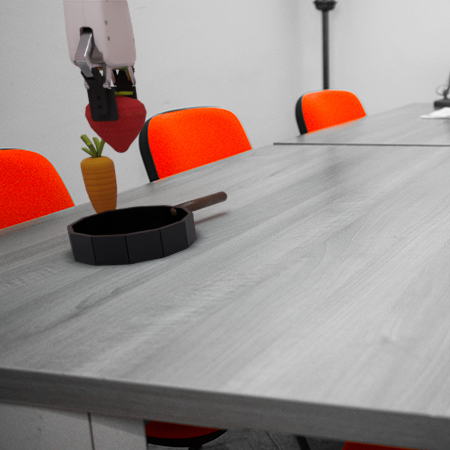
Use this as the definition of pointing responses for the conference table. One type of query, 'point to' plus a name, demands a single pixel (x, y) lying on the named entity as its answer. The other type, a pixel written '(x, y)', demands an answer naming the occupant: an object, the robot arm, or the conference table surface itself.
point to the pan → (136, 232)
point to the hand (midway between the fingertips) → (116, 116)
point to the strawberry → (120, 123)
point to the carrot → (99, 176)
